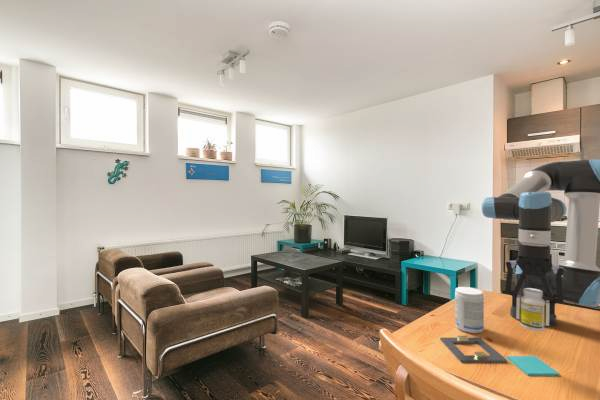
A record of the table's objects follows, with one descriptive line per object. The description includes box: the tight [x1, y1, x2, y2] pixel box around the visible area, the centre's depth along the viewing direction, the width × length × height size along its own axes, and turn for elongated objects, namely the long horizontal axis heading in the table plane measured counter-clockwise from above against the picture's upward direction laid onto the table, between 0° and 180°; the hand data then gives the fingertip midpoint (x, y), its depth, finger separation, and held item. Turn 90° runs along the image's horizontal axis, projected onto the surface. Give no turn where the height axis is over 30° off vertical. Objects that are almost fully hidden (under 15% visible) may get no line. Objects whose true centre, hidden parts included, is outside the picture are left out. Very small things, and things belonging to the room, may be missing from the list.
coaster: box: [505, 355, 561, 377], centre depth 90 cm, size 9×9×1 cm
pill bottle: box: [519, 288, 547, 332], centre depth 89 cm, size 6×6×11 cm
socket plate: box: [439, 335, 508, 363], centre depth 99 cm, size 14×14×2 cm
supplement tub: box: [454, 286, 485, 334], centre depth 115 cm, size 10×10×15 cm
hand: (532, 320), depth 90 cm, fingers closed on pill bottle, 6 cm apart
